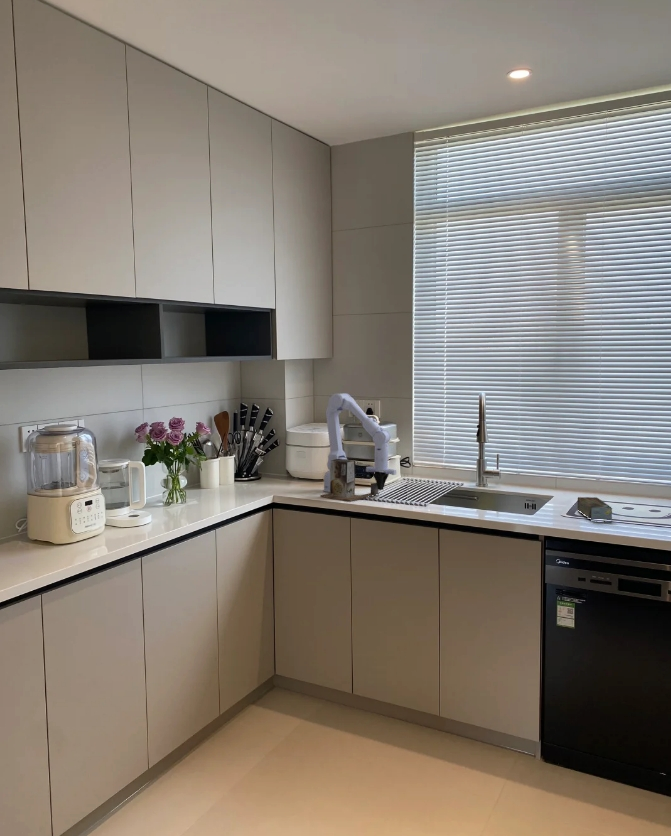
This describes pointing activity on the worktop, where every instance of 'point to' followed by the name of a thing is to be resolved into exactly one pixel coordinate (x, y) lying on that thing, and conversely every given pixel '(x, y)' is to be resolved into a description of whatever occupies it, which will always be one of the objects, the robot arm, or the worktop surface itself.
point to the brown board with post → (373, 492)
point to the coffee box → (342, 478)
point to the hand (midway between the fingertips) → (380, 489)
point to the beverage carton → (594, 508)
